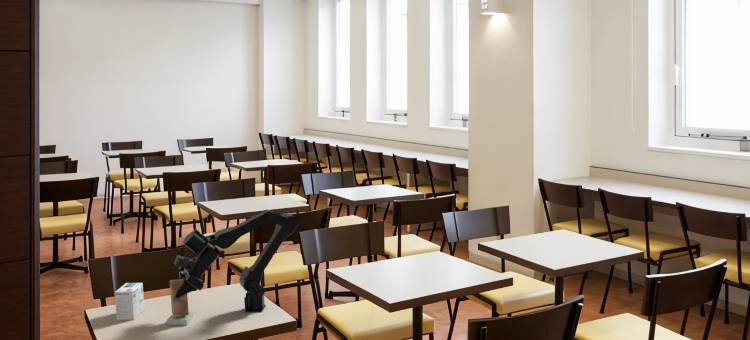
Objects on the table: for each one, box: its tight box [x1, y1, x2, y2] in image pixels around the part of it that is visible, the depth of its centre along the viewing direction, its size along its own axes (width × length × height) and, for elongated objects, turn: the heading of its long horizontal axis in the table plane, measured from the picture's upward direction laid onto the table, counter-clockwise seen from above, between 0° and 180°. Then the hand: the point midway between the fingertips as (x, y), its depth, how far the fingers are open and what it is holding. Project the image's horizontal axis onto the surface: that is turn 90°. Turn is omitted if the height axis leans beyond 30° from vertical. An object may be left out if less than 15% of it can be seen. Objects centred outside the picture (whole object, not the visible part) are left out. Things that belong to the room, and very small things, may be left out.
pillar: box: [169, 278, 190, 317], centre depth 244 cm, size 5×5×12 cm
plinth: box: [166, 312, 194, 326], centre depth 245 cm, size 7×7×2 cm
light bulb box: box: [114, 282, 145, 321], centre depth 253 cm, size 11×7×11 cm, turn 178°
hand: (174, 295), depth 243 cm, fingers closed on pillar, 5 cm apart
